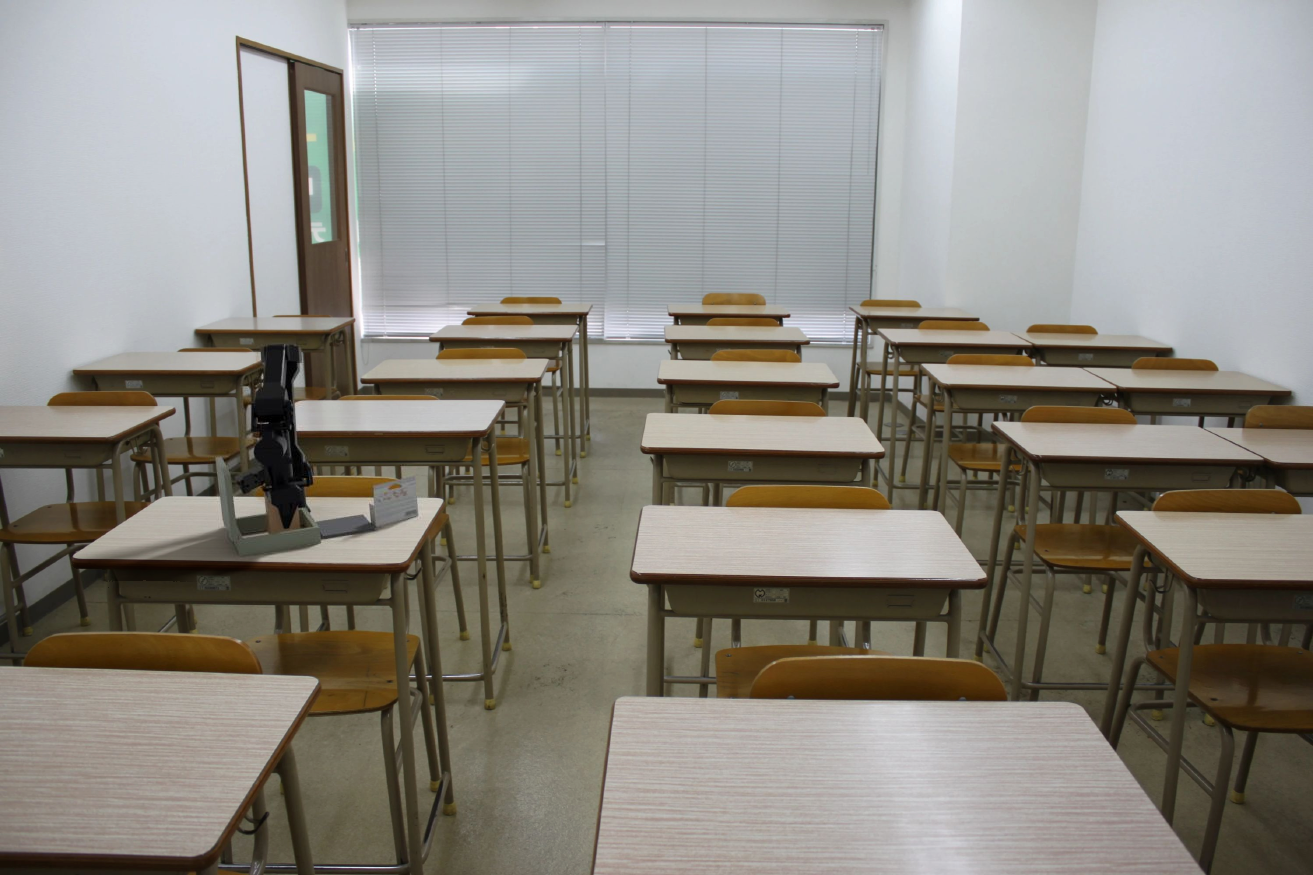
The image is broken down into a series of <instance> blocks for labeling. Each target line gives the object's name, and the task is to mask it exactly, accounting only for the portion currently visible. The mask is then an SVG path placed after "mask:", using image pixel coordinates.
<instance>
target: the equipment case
mask: <svg viewBox="0 0 1313 875" xmlns="http://www.w3.org/2000/svg"><path fill="white" fill-rule="evenodd" d="M214 458H215V466H216V467H215V468H216V474H217V483H218V491H219V501H220V510H221V518H222V521H223V526H224V527H225V529H226V531H227V533H228V536H229V540H230V541H231V542H233V544H234V546H235V549H236V550H237V553H238V555H239V557H246V556H251V555H256V554H257V555H258V554H263V553H269V552H274V551H275V552H276V551H281V550H287V548H288V549H294V548H299V547H304V546H310V545H317V544H321V543H322V540H321V538H322V537H321V535H320V527H319V526H318V525H317V523H316V522H317V521H316V520H315V519H314V517H313V516H312V515H311V512H308V511H307V509H306V508H299V509H298V512H299V522H300V526H301V525H302V526H304V527H302V528H300V529H297V530H290V531H284V532H278V533H272V534H268V533H266V534H260V535H254V536H248V537H243V536H242V535H243V534H249V533H255V532H261V531H268V526H267V517H266V512H265V513H259V514H252V515H245V516H239V517H236V511H235V503H234V502H235V501H234V493H233V485H232V476H231V472H230V471H229V469H228V468H229V467H227V465H226V463H225V461H224V459H223V457H222V456H217V457H214Z"/></svg>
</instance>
